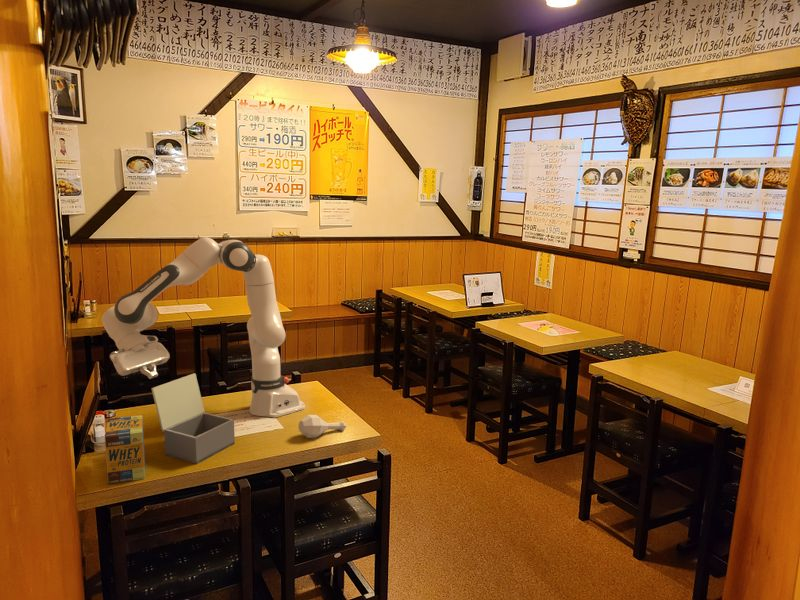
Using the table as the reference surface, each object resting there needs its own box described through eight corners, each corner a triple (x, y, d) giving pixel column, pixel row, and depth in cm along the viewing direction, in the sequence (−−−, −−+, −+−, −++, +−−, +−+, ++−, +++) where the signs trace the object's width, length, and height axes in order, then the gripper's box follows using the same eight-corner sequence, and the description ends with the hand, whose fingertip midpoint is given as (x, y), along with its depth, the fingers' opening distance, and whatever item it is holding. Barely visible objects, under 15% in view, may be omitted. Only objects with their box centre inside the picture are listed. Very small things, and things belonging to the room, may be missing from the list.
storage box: (165, 454, 196) (164, 429, 195) (204, 435, 212) (203, 412, 211) (196, 464, 190) (195, 438, 189) (234, 443, 206) (233, 419, 205)
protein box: (107, 485, 176) (104, 436, 173) (110, 463, 190) (107, 418, 187) (145, 479, 180) (142, 431, 177) (145, 458, 194) (142, 414, 191)
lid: (163, 429, 194) (161, 430, 195) (204, 411, 211) (203, 411, 211) (152, 388, 193) (151, 388, 194) (195, 373, 210) (193, 373, 210)
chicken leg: (350, 436, 217) (349, 413, 219) (306, 437, 206) (306, 413, 209) (339, 438, 223) (338, 415, 225) (296, 438, 213) (296, 415, 215)
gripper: (111, 347, 198) (133, 380, 196) (159, 335, 216) (180, 364, 214) (103, 358, 201) (124, 390, 198) (152, 345, 219) (172, 374, 216)
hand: (154, 376), depth 206 cm, fingers closed
